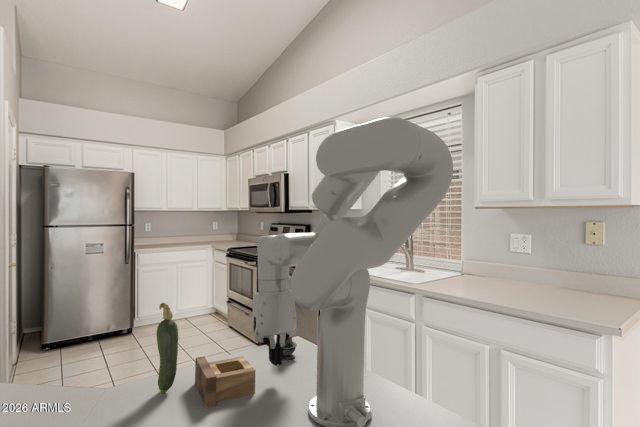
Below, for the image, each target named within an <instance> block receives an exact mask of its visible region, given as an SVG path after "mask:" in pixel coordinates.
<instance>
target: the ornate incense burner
mask: <svg viewBox="0 0 640 427" xmlns="http://www.w3.org/2000/svg"><path fill="white" fill-rule="evenodd" d="M297 346H298V345H297V343H296V342H294V341H293V336H292V337H289V338H288V340H287V341H286V342H285V345H284V347H283V359H282V362H290V361H293V360H295V359H296V355H295V354H294V352H295V350H296V348H297Z"/></svg>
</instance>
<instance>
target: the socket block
mask: <svg viewBox="0 0 640 427" xmlns="http://www.w3.org/2000/svg"><path fill="white" fill-rule="evenodd" d="M208 363H209V365H210V366H211V368H212V370H213V371H214V373H215V375H216V403H217V402H221V401H225V400H230V399H234V398H237V397H241V396H247V395H251V394H256V393H255V392H256V369H255V368H254V367H253V365H251V363H250V362H249V361H248V360H247V358H246V357H244V356H238V357H231V358H227V359H221V360H215V361H208Z"/></svg>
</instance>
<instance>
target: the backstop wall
mask: <svg viewBox="0 0 640 427" xmlns="http://www.w3.org/2000/svg"><path fill="white" fill-rule="evenodd" d="M208 362H209V361H208V360H207V358H206V357H205V356H200V357H195V362H194V363H195V367H194V369H195V372H194V373H195V374H194V385H195V387H196V389H197V391H198V394H199V396H200V398H201V401H202V403H203V405H204V407H205V408H210V407H215V406H216V405H217V402H216V375H215V373H214V371H213V370H212V368H211V366H210V365H209V363H208Z"/></svg>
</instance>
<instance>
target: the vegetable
mask: <svg viewBox="0 0 640 427" xmlns="http://www.w3.org/2000/svg"><path fill="white" fill-rule="evenodd" d="M161 310H163V311H162V316H163V317H162V320H161V321H160V322H159V324H158V325H157V328H156V343H157V344H156V345H157V351H158V353H159V368H158V369H159V370H158V380H157V385H158V390H159V391H160V393H161V394H166V393H167V392H169V389H171V387H172V386H173V384H174V381H175V378H176V374H177V370H178V368H177V367H178V352H179V351H178V350H179V347H178V345H179V328H178V324H177V322H175V320H174V319H173V312H172V310H171V308H170V306H169V305H168V304H167V303H166V302H161V303H160V304H159V311H161Z"/></svg>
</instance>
